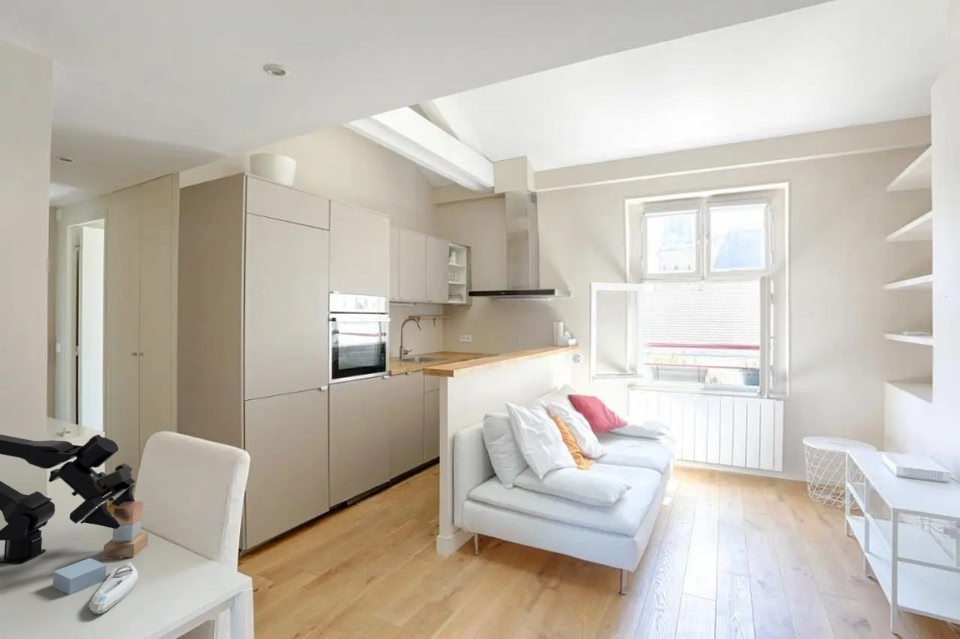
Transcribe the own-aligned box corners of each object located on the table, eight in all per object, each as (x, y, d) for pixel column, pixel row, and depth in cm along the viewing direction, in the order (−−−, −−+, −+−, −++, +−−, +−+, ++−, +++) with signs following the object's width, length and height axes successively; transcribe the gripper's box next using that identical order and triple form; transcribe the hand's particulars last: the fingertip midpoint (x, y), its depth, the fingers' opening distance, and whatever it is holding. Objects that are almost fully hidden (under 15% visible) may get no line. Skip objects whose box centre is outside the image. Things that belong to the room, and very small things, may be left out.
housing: (112, 542, 118) (114, 508, 118) (122, 535, 123) (124, 501, 123) (131, 542, 119) (133, 507, 119) (140, 534, 123) (142, 501, 124)
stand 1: (52, 586, 104) (53, 571, 104) (88, 572, 110) (89, 557, 110) (69, 595, 101) (70, 579, 101) (105, 579, 108) (106, 564, 108)
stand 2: (102, 559, 117) (103, 545, 117) (118, 546, 123) (119, 533, 124) (133, 557, 118) (134, 544, 118) (147, 544, 125) (148, 532, 125)
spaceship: (120, 615, 95) (121, 594, 95) (81, 623, 93) (82, 601, 93) (148, 562, 117) (149, 545, 117) (116, 567, 114) (117, 549, 114)
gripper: (86, 468, 111) (134, 511, 113) (129, 448, 129) (170, 485, 131) (47, 501, 109) (96, 545, 111) (96, 476, 128) (138, 514, 130)
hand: (128, 519), depth 121 cm, fingers open, 9 cm apart
